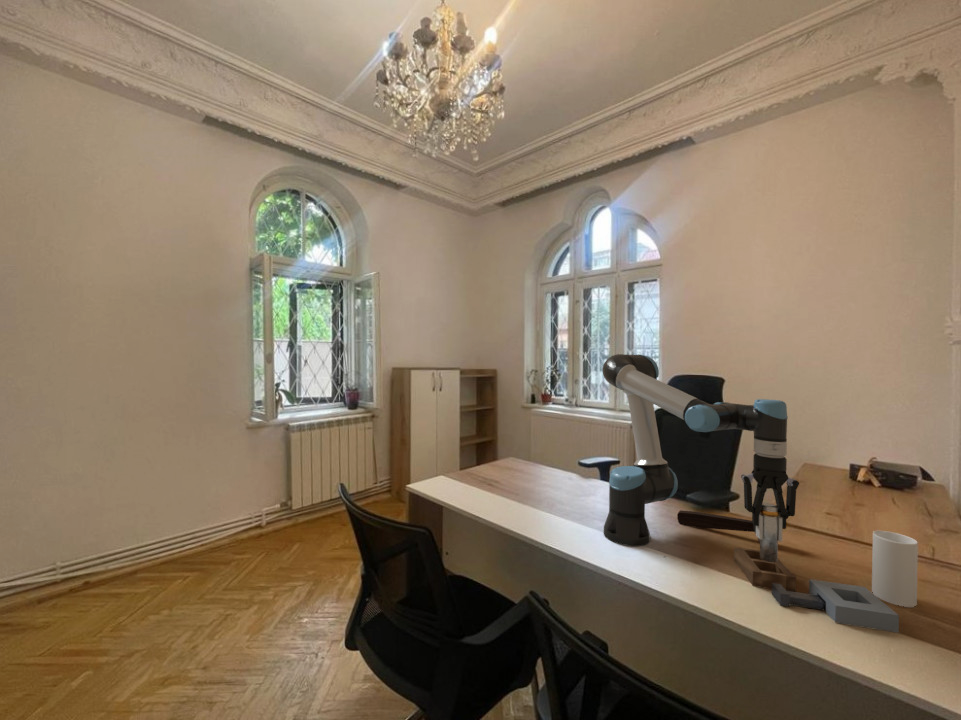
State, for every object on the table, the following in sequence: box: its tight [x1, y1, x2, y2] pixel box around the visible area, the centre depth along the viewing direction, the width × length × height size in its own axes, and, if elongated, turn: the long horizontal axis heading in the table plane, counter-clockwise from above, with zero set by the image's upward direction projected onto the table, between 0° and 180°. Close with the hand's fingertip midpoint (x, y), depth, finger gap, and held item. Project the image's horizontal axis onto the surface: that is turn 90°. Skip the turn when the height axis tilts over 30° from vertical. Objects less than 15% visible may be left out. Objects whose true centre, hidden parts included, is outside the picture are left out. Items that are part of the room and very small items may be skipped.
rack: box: [733, 546, 797, 592], centre depth 115 cm, size 10×15×4 cm, turn 164°
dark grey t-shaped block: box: [771, 583, 826, 611], centre depth 101 cm, size 10×5×3 cm, turn 74°
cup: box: [871, 530, 919, 608], centre depth 105 cm, size 8×8×16 cm
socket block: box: [808, 578, 900, 634], centre depth 98 cm, size 12×12×4 cm
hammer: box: [676, 509, 760, 542], centre depth 143 cm, size 5×11×30 cm
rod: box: [759, 502, 779, 563], centre depth 112 cm, size 4×4×15 cm
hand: (768, 538), depth 112 cm, fingers closed on rod, 4 cm apart
